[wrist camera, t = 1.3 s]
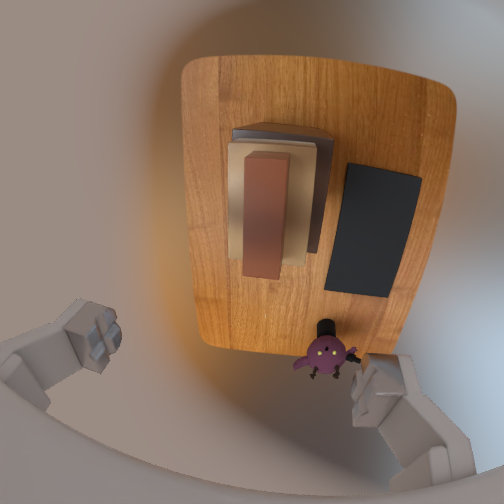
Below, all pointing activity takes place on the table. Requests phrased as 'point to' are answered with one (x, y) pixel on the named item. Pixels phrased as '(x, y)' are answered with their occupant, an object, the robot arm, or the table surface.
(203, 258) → the table surface
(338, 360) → the figurine
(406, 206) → the mat
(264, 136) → the riser
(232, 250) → the stepped wooden block
